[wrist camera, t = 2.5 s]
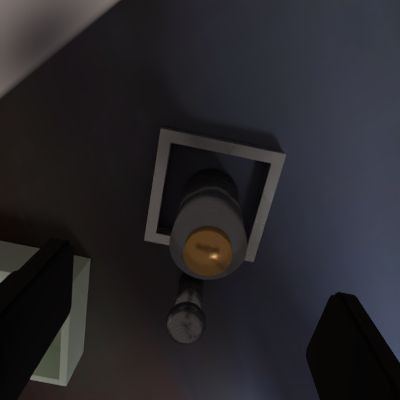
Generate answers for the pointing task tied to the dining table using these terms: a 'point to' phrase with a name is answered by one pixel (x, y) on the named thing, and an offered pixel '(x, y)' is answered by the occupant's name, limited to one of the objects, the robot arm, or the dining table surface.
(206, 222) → the grey cylinder
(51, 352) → the bin
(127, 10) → the dining table surface
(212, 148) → the grey piece
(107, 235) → the dining table surface
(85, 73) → the dining table surface
